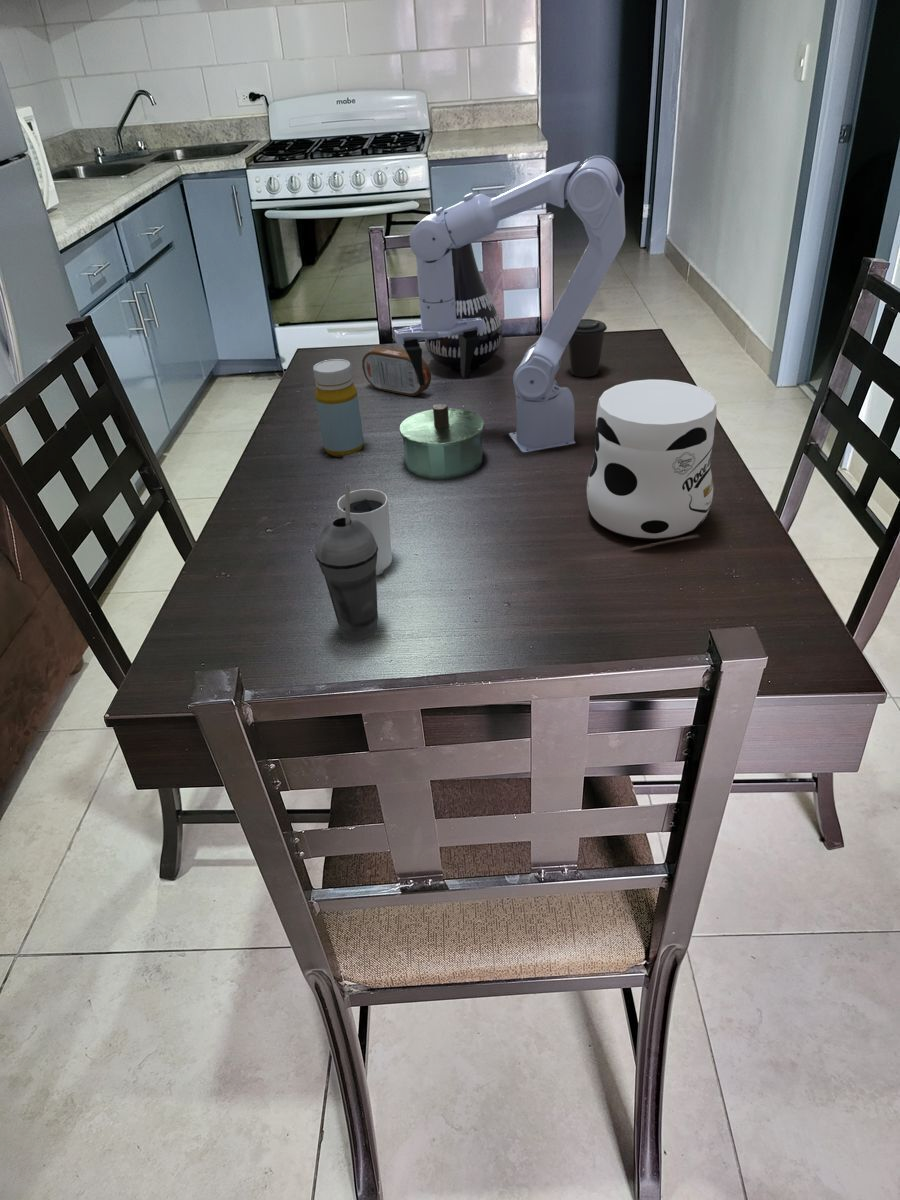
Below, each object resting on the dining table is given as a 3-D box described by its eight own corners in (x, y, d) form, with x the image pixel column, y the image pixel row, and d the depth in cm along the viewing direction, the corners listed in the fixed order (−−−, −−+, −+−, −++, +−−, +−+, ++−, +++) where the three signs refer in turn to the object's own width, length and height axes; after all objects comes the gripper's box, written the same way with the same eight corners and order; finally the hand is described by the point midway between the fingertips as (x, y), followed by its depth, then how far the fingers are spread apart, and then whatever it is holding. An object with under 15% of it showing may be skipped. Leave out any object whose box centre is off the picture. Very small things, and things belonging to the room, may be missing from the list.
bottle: (358, 458, 142) (345, 373, 133) (319, 457, 143) (304, 373, 135) (369, 440, 148) (358, 358, 139) (331, 439, 149) (318, 357, 140)
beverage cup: (331, 615, 106) (305, 474, 94) (388, 609, 106) (369, 468, 95) (329, 651, 100) (301, 505, 88) (389, 645, 100) (369, 499, 89)
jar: (470, 442, 145) (468, 407, 141) (491, 473, 135) (490, 437, 131) (399, 454, 142) (395, 419, 139) (415, 487, 132) (412, 450, 129)
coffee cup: (607, 378, 163) (610, 327, 158) (566, 380, 164) (567, 330, 158) (602, 363, 170) (604, 314, 164) (562, 365, 170) (562, 316, 164)
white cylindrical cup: (341, 559, 117) (330, 496, 111) (385, 547, 119) (377, 484, 113) (356, 583, 112) (345, 518, 106) (402, 570, 113) (394, 505, 108)
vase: (411, 368, 175) (397, 217, 158) (465, 347, 183) (457, 201, 166) (463, 386, 165) (454, 227, 148) (518, 363, 174) (516, 210, 156)
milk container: (729, 541, 114) (748, 418, 103) (607, 559, 112) (614, 436, 102) (680, 483, 128) (693, 369, 117) (571, 499, 126) (573, 384, 116)
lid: (471, 409, 142) (469, 384, 139) (494, 441, 131) (493, 415, 128) (392, 422, 139) (390, 397, 137) (410, 456, 129) (407, 430, 126)
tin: (433, 394, 163) (430, 352, 158) (424, 400, 161) (420, 357, 156) (371, 383, 170) (366, 342, 165) (362, 388, 168) (357, 347, 163)
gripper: (397, 311, 128) (406, 395, 136) (487, 298, 131) (490, 381, 139) (388, 298, 134) (397, 380, 142) (475, 286, 137) (479, 367, 144)
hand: (442, 379), depth 141 cm, fingers open, 7 cm apart
